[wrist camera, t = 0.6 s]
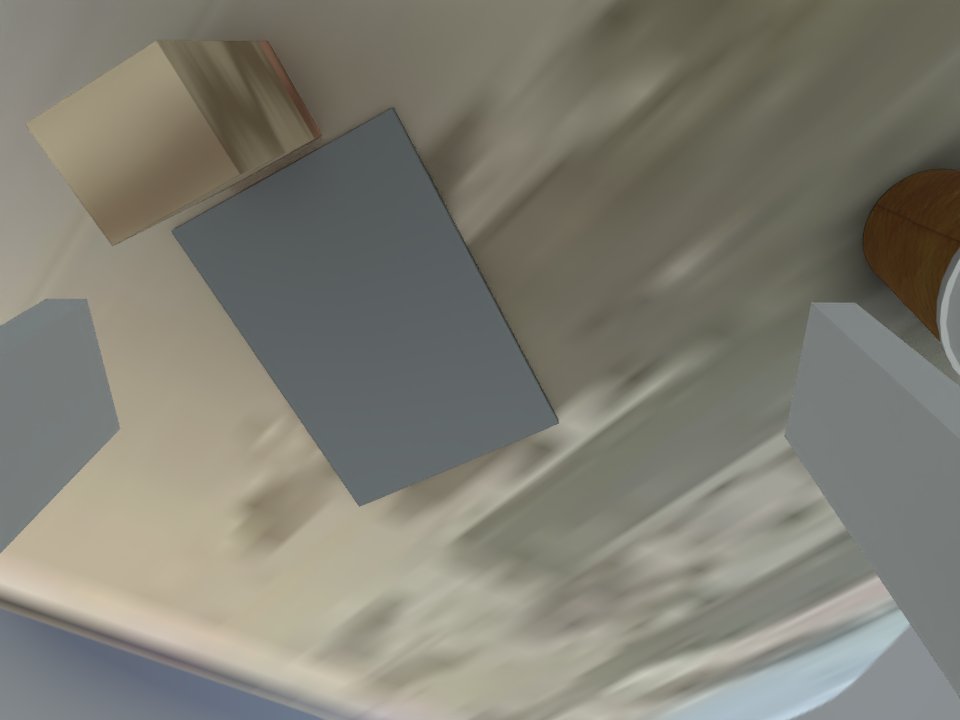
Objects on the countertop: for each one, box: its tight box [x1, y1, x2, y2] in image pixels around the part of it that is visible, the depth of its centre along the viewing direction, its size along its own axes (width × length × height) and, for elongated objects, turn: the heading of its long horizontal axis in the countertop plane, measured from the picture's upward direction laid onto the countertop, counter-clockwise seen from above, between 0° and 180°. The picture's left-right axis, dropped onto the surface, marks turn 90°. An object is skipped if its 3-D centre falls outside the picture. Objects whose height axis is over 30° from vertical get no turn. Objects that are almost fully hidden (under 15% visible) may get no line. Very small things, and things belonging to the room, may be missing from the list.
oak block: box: [25, 41, 322, 246], centre depth 31 cm, size 5×6×12 cm
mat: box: [171, 108, 559, 507], centre depth 41 cm, size 20×14×1 cm
